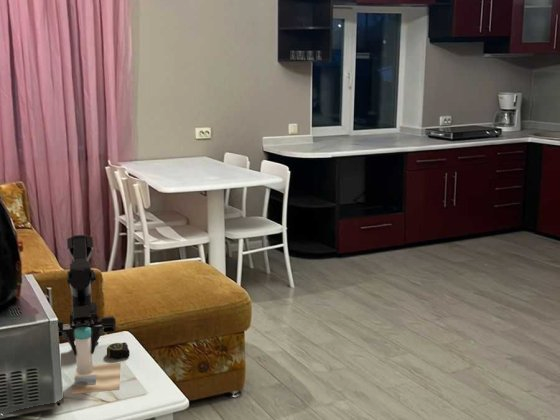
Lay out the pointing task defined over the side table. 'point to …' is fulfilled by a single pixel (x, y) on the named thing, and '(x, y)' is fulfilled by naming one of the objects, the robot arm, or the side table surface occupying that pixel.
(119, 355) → the tape measure
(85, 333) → the ball
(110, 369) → the board
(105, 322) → the robot arm
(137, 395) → the side table surface
